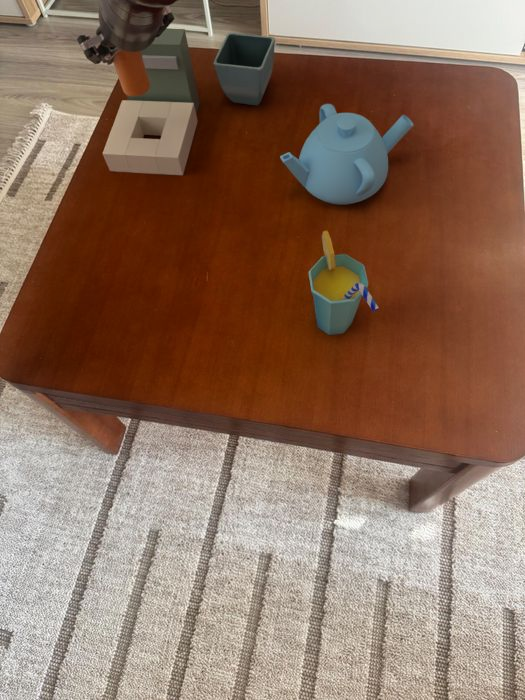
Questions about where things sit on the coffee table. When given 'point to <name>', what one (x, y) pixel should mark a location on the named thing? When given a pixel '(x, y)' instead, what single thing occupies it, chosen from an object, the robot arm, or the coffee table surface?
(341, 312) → the cup
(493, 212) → the coffee table surface
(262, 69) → the flower pot
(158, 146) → the hollow square tile
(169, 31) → the green upright block
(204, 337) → the coffee table surface
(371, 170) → the teapot
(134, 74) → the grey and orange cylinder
